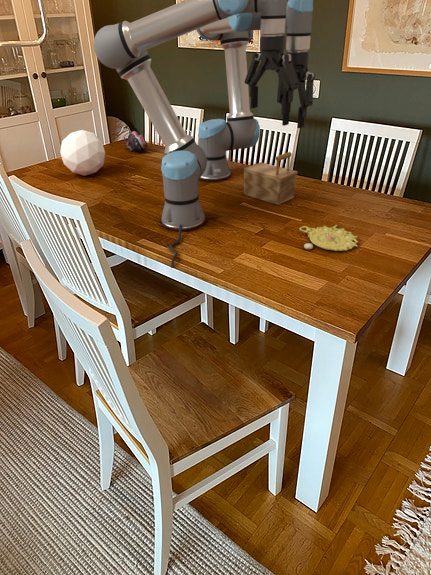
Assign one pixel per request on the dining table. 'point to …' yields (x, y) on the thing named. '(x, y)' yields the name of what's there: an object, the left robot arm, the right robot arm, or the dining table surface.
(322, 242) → the decorative object
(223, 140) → the right robot arm
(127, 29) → the left robot arm
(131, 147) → the athletic shoe
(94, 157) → the sphere
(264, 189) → the chest
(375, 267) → the dining table surface
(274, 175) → the lid
